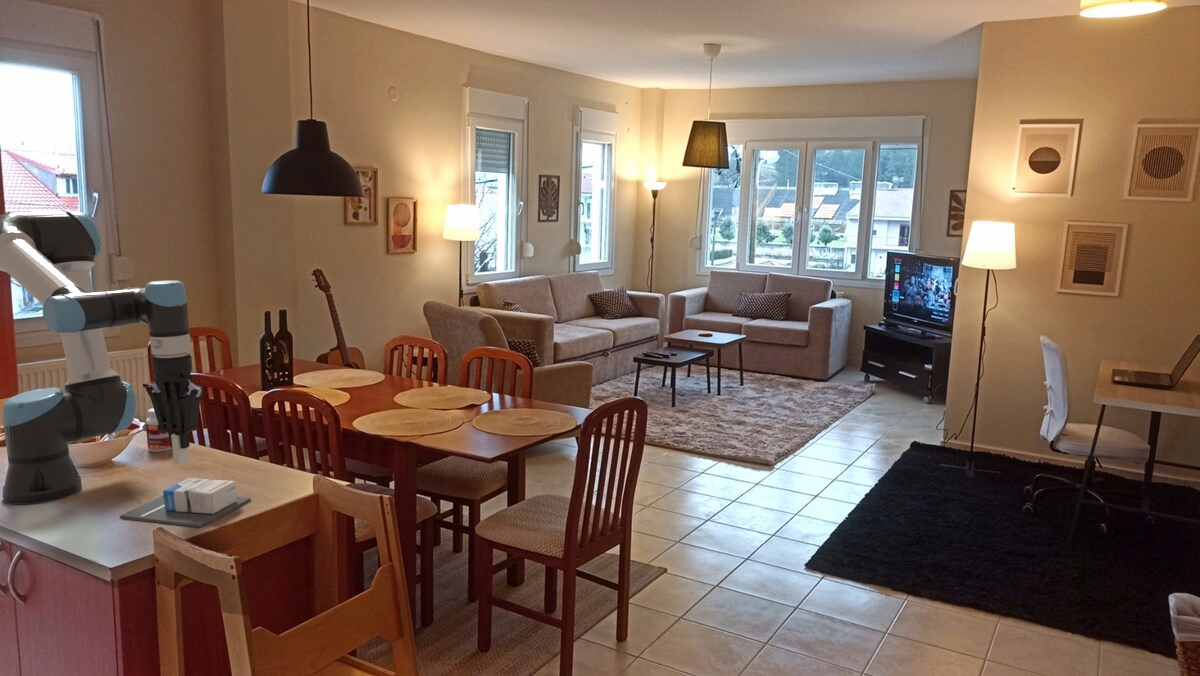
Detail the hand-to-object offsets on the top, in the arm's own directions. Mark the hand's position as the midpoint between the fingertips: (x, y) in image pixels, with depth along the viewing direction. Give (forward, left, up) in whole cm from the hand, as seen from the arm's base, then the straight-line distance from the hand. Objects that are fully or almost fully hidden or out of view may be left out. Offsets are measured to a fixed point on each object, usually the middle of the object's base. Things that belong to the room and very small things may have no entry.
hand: (181, 462), depth 184 cm
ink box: (-3, +1, -8) cm, 8 cm away
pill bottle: (-38, +35, -11) cm, 53 cm away
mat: (0, 0, -11) cm, 11 cm away
